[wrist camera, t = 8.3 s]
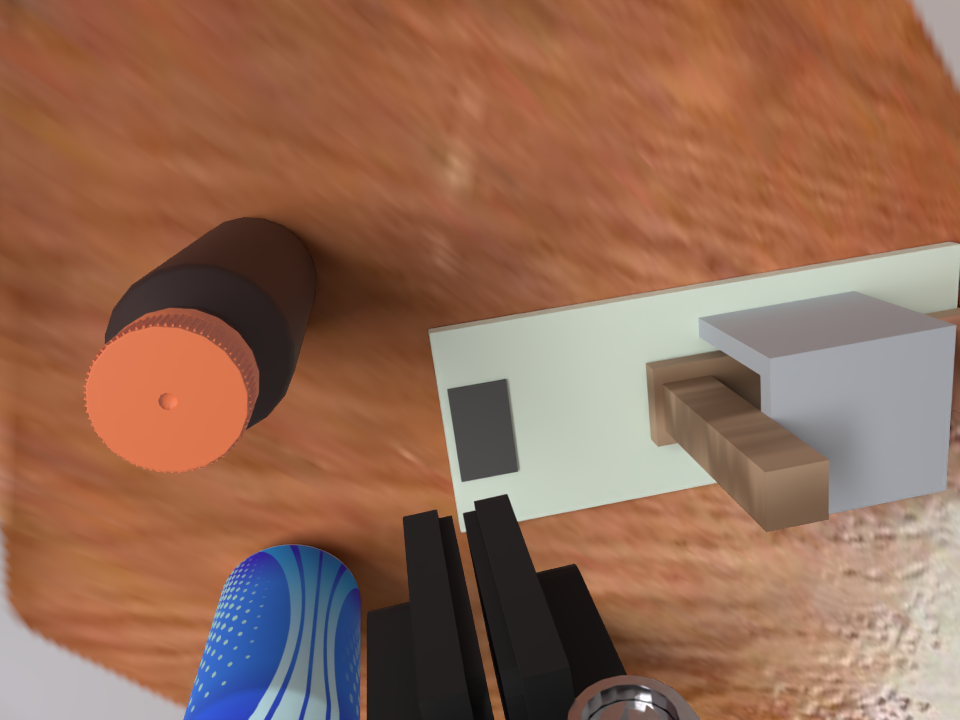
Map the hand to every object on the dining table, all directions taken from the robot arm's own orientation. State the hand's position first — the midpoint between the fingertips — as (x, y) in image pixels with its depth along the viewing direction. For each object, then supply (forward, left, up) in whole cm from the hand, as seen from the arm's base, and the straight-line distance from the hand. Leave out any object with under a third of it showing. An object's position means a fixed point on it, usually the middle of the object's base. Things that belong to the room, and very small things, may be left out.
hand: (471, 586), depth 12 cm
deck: (+11, +18, -33) cm, 39 cm away
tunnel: (+11, +22, -33) cm, 41 cm away
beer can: (+20, -10, -33) cm, 40 cm away
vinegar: (0, -8, -33) cm, 34 cm away
